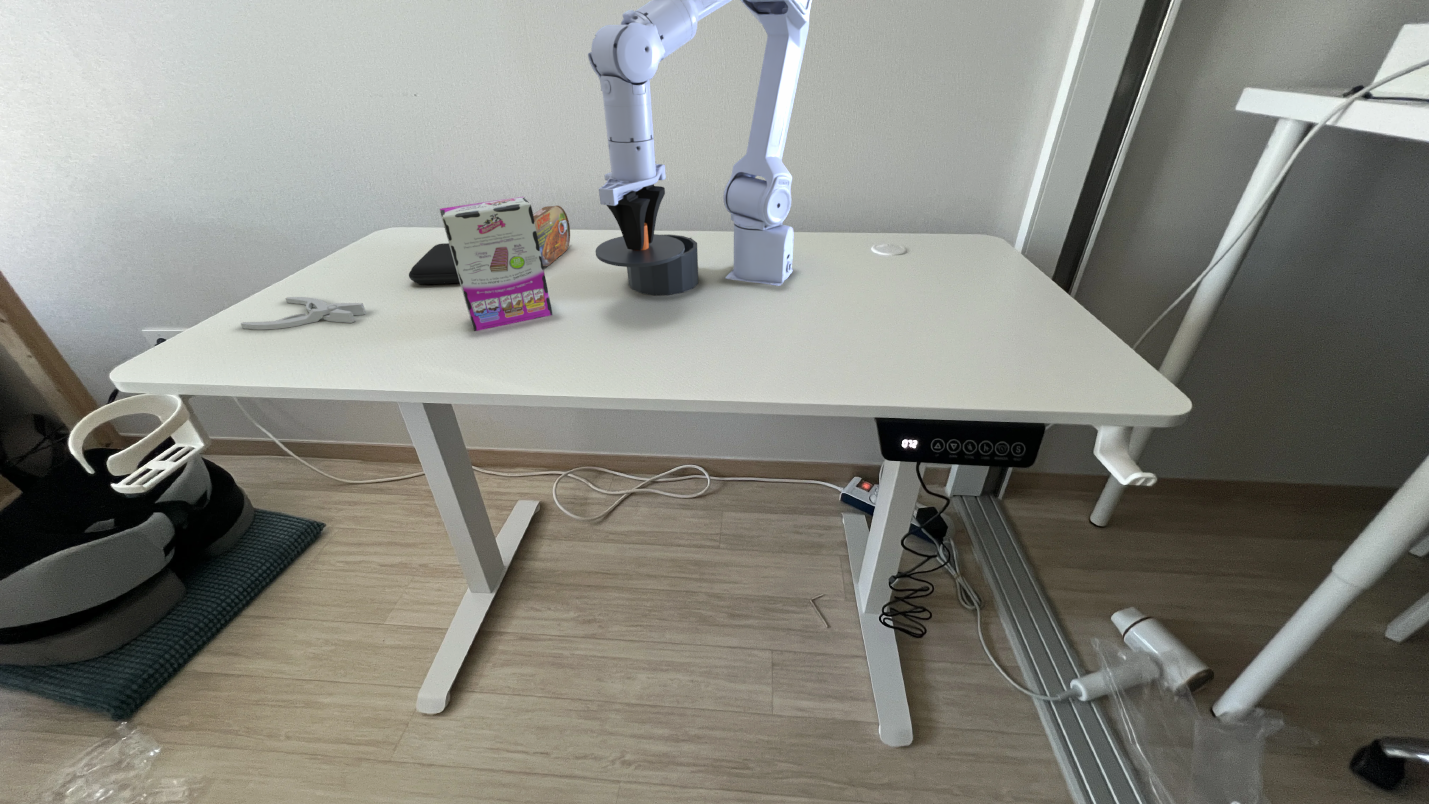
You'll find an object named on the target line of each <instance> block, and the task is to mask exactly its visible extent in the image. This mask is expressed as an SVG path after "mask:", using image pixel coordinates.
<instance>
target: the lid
mask: <svg viewBox="0 0 1429 804" xmlns="http://www.w3.org/2000/svg"><path fill="white" fill-rule="evenodd" d="M665 235H666V234H658V233H657V234H656V233H654V236H653V241H652V243H649V242H648V230H647V224H646V223H644V245H643V249H642V250H631V249H627V246H626V243H625V241H624V238H623V235H622V236H621V235H620V236H618V237H613V238H611V239H608V240H605V241H603V242H601V243H600V244H599V245H597V247H596V248H595V251H594V252H595V257H596V258H597V259H598V260H599V261H600V262H602V263H604V264H606V265H611V266H615V267H623V268H627V267H646V266H654V265H659V264H664V263H667V262H670V261H673V260H675V259H677V258H679V257H680V256H681V255H682V254H683V253H684V250H685V248H684V244H683V243H682V242H681V241H680V240H678V239H676V238H673V237H670V236H665Z"/></svg>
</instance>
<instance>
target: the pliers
mask: <svg viewBox="0 0 1429 804" xmlns="http://www.w3.org/2000/svg"><path fill="white" fill-rule="evenodd" d="M285 301H286V303H288V304H296V305H304V306H305V309H306V311H307V313H308V314H306V313H305V312H302V313H297V314H296V313H295V314H291V315H289V316H285V317H281V318H280V319H276V320H269V321H268V320H267V321H243V322H240V326H241V328H242V329H245V330H246V329H247V330H258V331H259V330H279V329H286V328H294V327H299V326H303V325H307V324H311V323H317V322H319V321H320V320H321V319H323V321H326V322H327V321H328V322H334V323H349V324H352V323H354V322H356V319H355V316H361V315H362V316H364V315H366V314H367V311H366V309H365V308H366V307H365V306H364V303H363V302H334V303H333V302H332V303H327V302H326V301H324V300H322V299H319V298H316V297H315V298H314V297H308V296H307V297H306V296H288V297H285Z"/></svg>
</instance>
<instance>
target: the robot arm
mask: <svg viewBox="0 0 1429 804" xmlns="http://www.w3.org/2000/svg"><path fill="white" fill-rule="evenodd" d="M732 1H733V0H649V1H648V2H646V3H645V4H643V5H641V6H640V7H639V8H637V9H635V10H634V9H628V10H626V11H624V12H623V13H622V20H621V22H620V24H605V25H603V26H602V27H600V28H599V29H598V30H597V31H596V32H595V35H594V36H595V37H594V38H592V42H591V47H590V48H591V51H590V52H588V53H587V57H588V61H589V64H590V67H591V69H592V70H593V72H594V74H596V76H597V78H598V80H599V85H600V91H601V92H602V100H603V110H604V119H605V127H606V128H605V129H606V137H607V144H608V145H607V147H608V155H609V164H610V172H607V173H605V174H604V175H603V176H604V180H605V181H606V182H605V183H604V185H602V186H601V187H598V193H599V203H600V205H602V206H606V207H607V208H608V209H609V211H610V213H611V214H612V215H613V217H614V219H615V221H616V223H617V225H618V227H619V230H620V232H621V235H622V236H623V238H624V241H625V243H626V246H627V249H631V250H642V249H643V245H644V223H646V224H647V230H648V242H649V243H652V241H653V236H654V234H655V229H656V224H657V217H658V213H659V211H660V210H659V209H660V207H661V204H662V201H663V199H664V197H665V194H666V188H665V187H664V186H661V185H655V184H657V183H658V181H664V180H666V179H667V178H666V177H667V176H666V164H663V163H656V153H655V137H654V125H653V122H654V121H653V108H652V95H651V81H650V80H652V79H653V78H654V77H655V75H656V73H657V71H658V68H659V64H660V62H661V61H663V60H664V59H666V58H667V57H669V56H671V55H672V54H673V53H675V52H676V51H678V50H679V49H680V48H682V47H683V46H685V44H687V43H688V42H690V41H691V40H693V39H694V38H695V36H696V34H697V31H698V22H700V21H701V20H703V19H704V18H705V17H707V16H709V15H710V14H712V13H714V12H716V11H717V10H719V9H721V8H722V7H723V6H725V5H727V4H729V3H730V2H732ZM739 1H740V2H741V3H742V4H743V5H744V7H745V8H746V9H747V10H748V11H749V12H750V13H751V15H752V16H753V17H754V18H755V19H756V20H757V21H758V23H760V24H761V25H762V27H763V29H764V32H765V33H766V35H767V36H766V37H767V39H766V43H765V49H764V52H763V53H764V54H763V60H762V65H761V70H760V76H759V82H758V85H757V86H758V87H757V92H756V98H755V103H754V109H753V115H752V120H751V124H750V131H749V137H748V142H747V147H746V153H745V154H744V156H742V157H741V158H740V159H739V160H737V162H735V163H734V164H733V165H732V169H731V175H730V177H729V180H728V182H727V183H726V185H725V187H724V190H723V205H724V207H725V209H726V211H727V212H728V213H729V214H730V221H732V222H733V269H732V270H731V271H730V272H729V273H728V274H727V275H726V276H725V278H724V279H727V280H731V281H732V280H733V281H741V282H748V283H754V284H762V285H770V286H779V287H780V286H782V285H783V283H784V282H785V281H786V280H787V279H789V277H790V276H791V274H792V273H793V270H794V269H793V255H794V242H795V240H794V239H795V235H794V228H793V227H792V225H791V226H790V225H785V224H783V222H784V221H785V220H786V218H787V216H788V215H789V213H790V210H791V207H792V189H791V188H792V183H793V175H792V174H791V172H790V170H788V168H787V167H786V165H785V164H784V163H783V155H784V151H785V146H786V141H787V136H788V131H789V127H790V122H791V116H792V112H793V107H794V101H795V97H796V93H797V87H798V83H799V77H800V73H801V68H802V64H803V60H804V59H803V58H804V54H805V49H806V43H807V39H808V35H809V28H810V12H811V7H812V2H813V0H739ZM756 177H761V178H763V179H760V178H756Z"/></svg>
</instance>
